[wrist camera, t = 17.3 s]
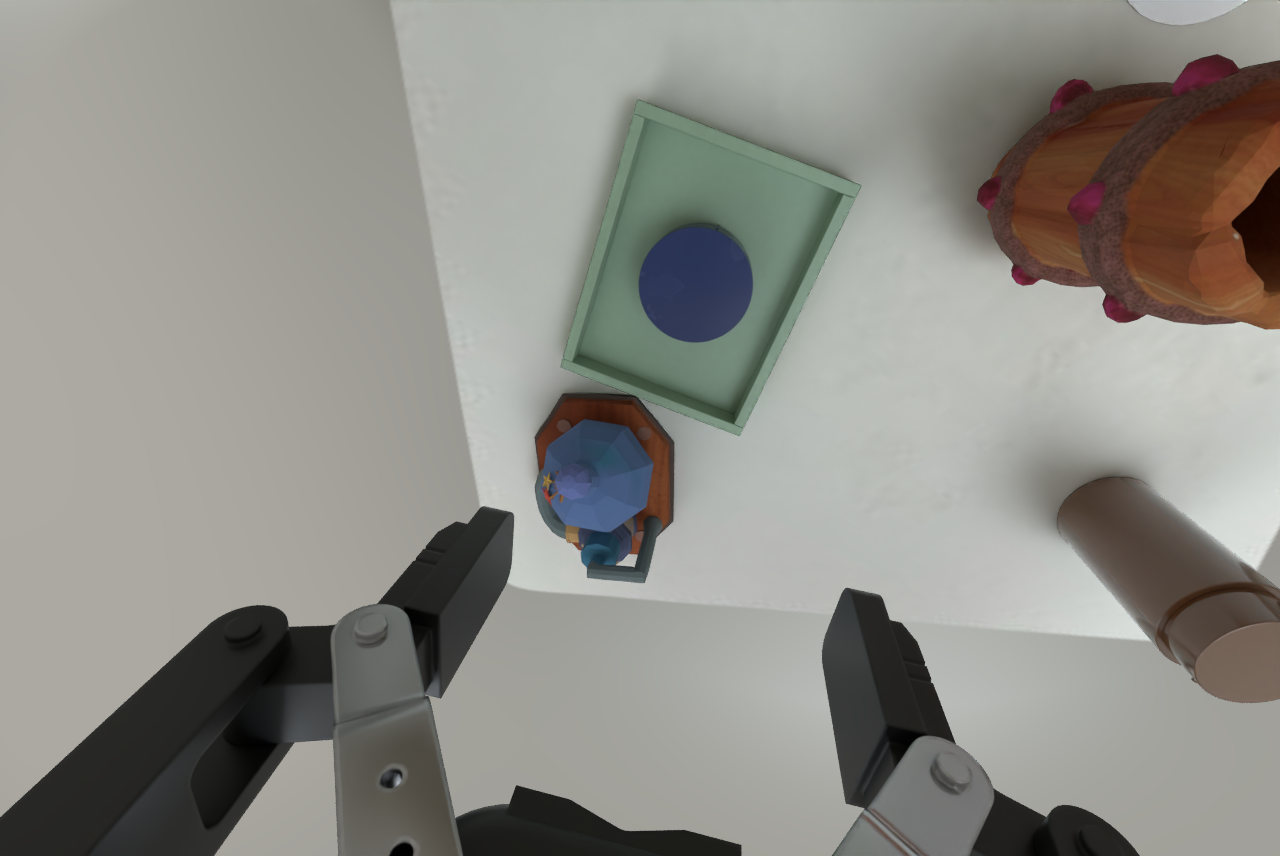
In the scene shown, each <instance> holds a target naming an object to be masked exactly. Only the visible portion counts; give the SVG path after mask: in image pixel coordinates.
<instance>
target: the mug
mask: <svg viewBox="0 0 1280 856" xmlns="http://www.w3.org/2000/svg"><path fill="white" fill-rule="evenodd" d="M977 201H978V202H979V203H980V204H981V205H982V206H983V207H984V208H986V209H988V219H989V221H990V224H991V226H992V230H993V234H994V238H995V240H996V241H997V243H998V245H999V247H1000V248H1001V250H1002V251H1003V252H1004V253H1005V254H1006V255H1007V257H1008V258H1009V259H1010V260H1011V261H1012V263H1013V267H1012V270H1011V271H1012V277H1013V279H1014V280H1015V281H1016V283H1018V284H1020V285H1023V286H1024V285H1033V284H1034V283H1035V282H1037V281H1038V280H1040V279H1044V280H1047V281H1050V282H1053V283H1057V284H1060V285H1067V286H1075V287H1092V286H1100V287H1101V288H1102V289H1103V291H1104V292H1105V293H1106V296H1105V299H1104V301H1103V304H1102V305H1103V308H1104V311H1105V314H1106V316H1107V317H1109V318H1110V319H1112V320H1114V321H1116V322H1118V323H1127V322H1131V321H1134V320H1138V319H1139V318H1141V317H1143V316H1145V315H1147V314H1148V315H1152V316H1155V317H1159V318H1162V319H1166V320H1169V321H1173V322H1178V323H1190V324H1201V325H1209V324H1228V323H1236V322H1245V323H1249V324H1252V325H1254V326H1257V327H1260V328H1263V329H1280V60H1279V61H1274V62H1268V63H1263V64H1258V65H1253V66H1248V67H1244V68H1240V69H1239V68H1238V67H1237V66H1236V64H1235V63H1234V62H1233V61H1232V60H1230V59H1227V58H1225V57H1223V56H1220V55H1218V54H1216V55H1212V56H1208V57H1203V58H1200V59H1198V60H1195V61H1193V62H1190V63H1188V64H1187V66H1186V67H1185V69H1184V70H1183V71H1182V73H1181V74H1180V76H1179V77H1178V79H1177V80H1176V82H1175V83H1174V84H1172V83H1166V82H1162V83H1140V84H1129V85H1120V86H1116V87H1112V88H1107V89H1103V90H1099V91H1093V89H1092V87H1091V86H1090V85H1089V84H1088V82H1086V81H1084V80H1077V79H1073V80H1070V81H1068V82H1066V83H1065V84H1064V85H1063V86H1062V87H1060V88H1059V89H1058V91H1057V93H1056V94H1055V96H1054V98H1053V99H1052V101H1051V106H1050V111H1049V114H1048V115H1046V116H1045V117H1044V118H1043V119H1042V120H1040V121H1039V122H1038V123H1037V124H1036V125H1035V126H1033V127H1032V128H1031V129H1030V130H1029V131H1028V132H1027V133H1026V134H1025V135H1024V136H1023V137H1022V138H1021V139H1020V141H1019V142H1018V143H1017V144H1016V145H1015V146H1014V147H1013V148H1012V149H1011V150H1010V151H1009V152H1007V153H1006V155H1005V156H1004V157H1003V158H1002V160H1001V161H1000V162H999V164H998V165H997V167H996V169H995V170H994V172H993V174H992V177H991V179H990V180H988V181H986V182H985V183H984V184H983V185H982V186H981V187H980V188H979V190H978V195H977Z"/></svg>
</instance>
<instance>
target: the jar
mask: <svg viewBox="0 0 1280 856" xmlns="http://www.w3.org/2000/svg"><path fill="white" fill-rule="evenodd" d="M1057 526H1058V530H1059V532H1060V534H1061V536H1062V537H1063V538H1064V539H1065V541H1066V542H1067V543H1068V544H1069V545H1070V546H1071V548H1072V549H1073V550H1074V551H1075V552H1076V553H1077V555H1078V556H1079V557H1080V558H1081V559H1082V560H1083V562H1084V563H1085V564H1086V565H1087V566H1088V567H1089V569H1090V570H1091V571H1092V572H1093V573H1094V574H1095V576H1096V577H1097V578H1098V579H1099V580H1100V581H1101V583H1102V584H1103V585H1104V586H1105V587H1106V588H1107V590H1108V591H1109V592H1110V593H1111V594H1112V595H1113V597H1114V598H1115V599H1116V600H1117V601H1118V602H1119V604H1120V605H1121V606H1122V607H1123V608H1124V610H1125V611H1126V612H1127V613H1128V614H1129V615H1130V617H1131V618H1132V619H1133V620H1134V621H1135V622H1136V624H1137V625H1138V626H1139V627H1140V628H1141V629H1142V631H1143V632H1144V633H1145V634H1146V635H1147V636H1148V638H1149V639H1150V640H1151V641H1152V642H1153V643H1154V645H1155V646H1156V647H1157V648H1158V649H1159V650H1160V651H1161V653H1162V654H1163V655H1164V656H1165V657H1167V658H1168V659H1170V660H1171V661H1173V662H1175V663H1177V664H1179V665H1182V666H1183V667H1184V668H1185V669H1186V671H1187V672H1188V673H1189V674H1190V675H1191V676H1192V677H1193V678H1192V680H1193V681H1194V682H1196V683H1198V684H1199V685H1200V686H1201V688H1202V689H1204V690H1205V691H1206V692H1208V693H1210V694H1211V695H1213V696H1215V697H1218V698H1220V699H1224V700H1227V701H1232V702H1240V703H1259V702H1267V701H1273V700H1277V699H1280V589H1279V588H1277V587H1276V586H1275V585H1274V584H1272V583H1271V582H1270V581H1269V580H1267V579H1266V578H1265V577H1264V576H1262V575H1261V574H1260V573H1259V572H1257V571H1256V570H1255V569H1253V568H1252V567H1251V566H1250V565H1248V564H1247V563H1246V562H1245V561H1243V560H1242V559H1241V558H1240V557H1238V556H1237V555H1236V554H1235V553H1233V552H1232V551H1231V550H1230V549H1228V548H1227V547H1226V546H1224V545H1223V544H1222V543H1221V542H1219V541H1218V540H1217V539H1216V538H1214V537H1213V536H1212V535H1211V534H1209V533H1208V532H1207V531H1206V530H1204V529H1203V528H1202V527H1200V526H1199V525H1198V524H1197V523H1195V522H1194V521H1193V520H1192V519H1190V518H1189V517H1188V516H1187V515H1185V514H1184V513H1183V512H1182V511H1180V510H1179V509H1178V508H1177V507H1175V506H1174V505H1173V504H1171V503H1170V502H1169V501H1168V500H1166V499H1165V498H1164V497H1163V496H1161V495H1160V494H1159V493H1158V492H1156V491H1155V490H1154V489H1153V488H1151V487H1150V486H1149V485H1147V484H1145V483H1144V482H1141V481H1139V480H1136V479H1132V478H1127V477H1110V478H1104V479H1100V480H1096V481H1093V482H1091V483H1088V484H1086V485H1084V486H1082V487H1081V488H1079V489H1077V490H1076V491H1075V492H1073V493H1072V494H1071V495H1070V496H1069V497H1068V498H1067V499H1066V500H1065V502H1064V503H1063V504H1062V506H1061V508H1060V510H1059V513H1058V517H1057Z"/></svg>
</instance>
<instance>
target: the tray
mask: <svg viewBox="0 0 1280 856" xmlns="http://www.w3.org/2000/svg"><path fill="white" fill-rule="evenodd" d="M634 113H635V114H633V117H632V121H631V124H630V128H629V131H628V135H627V138H626V142H625V145H624V148H623V152H622V155H621V159H620V162H619V166H618V169H617V173H616V176H615V180H614V183H613V186H612V190H611V193H610V197H609V200H608V204H607V207H606V211H605V214H604V218H603V221H602V224H601V228H600V231H599V235H598V238H597V242H596V245H595V249H594V252H593V256H592V259H591V262H590V266H589V269H588V273H587V276H586V280H585V283H584V287H583V290H582V294H581V297H580V300H579V304H578V307H577V311H576V314H575V318H574V321H573V325H572V328H571V332H570V335H569V338H568V342H567V345H566V349H565V352H564V356H563V359H562V363H561V368H564V369H566V370H569V371H571V372H574V373H577V374H579V375H582V376H584V377H587V378H590V379H592V380H595V381H597V382H600V383H603V384H605V385H608V386H610V387H613V388H616V389H618V390H621V391H623V392H626V393H629V394H631V395H634V396H636V397H639V398H642V399H644V400H647V401H649V402H652V403H655V404H657V405H660V406H662V407H665V408H668V409H670V410H673V411H675V412H678V413H681V414H683V415H686V416H688V417H691V418H694V419H696V420H699V421H701V422H704V423H706V424H709V425H712V426H714V427H717V428H719V429H722V430H725V431H727V432H730V433H732V434H735V435H738V436H740V434H741V432H742V430H743V428H744V426H745V424H746V422H747V420H748V418H749V416H750V414H751V412H752V410H753V408H754V406H755V404H756V402H757V400H758V398H759V395H760V393H761V391H762V389H763V387H764V385H765V383H766V381H767V379H768V377H769V375H770V373H771V371H772V369H773V367H774V365H775V363H776V360H777V358H778V356H779V354H780V352H781V350H782V348H783V346H784V344H785V342H786V340H787V338H788V336H789V334H790V332H791V330H792V328H793V326H794V323H795V321H796V319H797V317H798V315H799V313H800V311H801V309H802V307H803V305H804V303H805V301H806V299H807V297H808V295H809V293H810V291H811V288H812V286H813V284H814V282H815V280H816V278H817V276H818V274H819V272H820V270H821V268H822V266H823V264H824V262H825V260H826V258H827V256H828V253H829V251H830V249H831V247H832V245H833V243H834V241H835V239H836V237H837V235H838V233H839V231H840V229H841V227H842V225H843V223H844V221H845V219H846V216H847V214H848V212H849V210H850V208H851V206H852V204H853V202H854V200H855V198H856V196H857V194H858V192H859V190H860V188H861V185H859V184H857V183H854V182H851V181H849V180H846V179H844V178H841V177H838V176H836V175H833V174H831V173H828V172H825V171H823V170H820V169H818V168H815V167H813V166H810V165H807V164H805V163H802V162H800V161H797V160H794V159H792V158H789V157H787V156H784V155H781V154H779V153H776V152H774V151H771V150H768V149H766V148H763V147H761V146H758V145H755V144H753V143H750V142H748V141H745V140H742V139H740V138H737V137H735V136H732V135H729V134H727V133H724V132H722V131H719V130H716V129H714V128H711V127H709V126H706V125H703V124H701V123H698V122H696V121H693V120H690V119H688V118H685V117H683V116H680V115H677V114H675V113H672V112H670V111H667V110H664V109H662V108H659V107H657V106H654V105H651V104H649V103H646V102H644V101H641V100H637V103H636V107H635V110H634ZM690 223H708V224H713V225H716V226H717V225H720V226H719V227H721V228H723V229H725V230H727V231H729V232H730V233H731V234H733V235H734V236H735V237H736V238H737V239H738V240H739V241H740V242H741V244H742V245H743V247H744V248H745V250H746V252H747V254H748V256H749V259H750V262H751V267H752V275H753V293H752V297H751V301H750V304H749V307H748V309H747V311H746V313H745V315H744V316H743V318H742V319H741V321H740V322H739V323H738V324H737V325H736V326H735V327H734V328H733V329H732V330H730V331H729V332H728V333H726V334H725V335H723V336H721V337H719V338H717V339H714V340H711V341H706V342H699V343H692V342H684V341H680V340H677V339H674V338H672V337H670V336H668V335H666V334H665V333H663V332H662V331H660V330H659V329H658V328H657V327H656V326H655V325H654V324H653V323H652V322H651V321H650V319H649V318H648V316H647V315H646V313H645V311H644V309H643V306H642V304H641V300H640V296H639V275H640V271H641V267H642V265H643V262H644V260H645V258H646V256H647V254H648V253H649V251H650V250H651V249H652V247H653V246H654V245H655V244H656V243H657V242H658V241H659V240H660V239H661V238H663V237H664V236H665V235H666V234H667V233H669V232H670V231H672V230H674V229H675V228H678V227H680V226H682V225H686V224H690Z"/></svg>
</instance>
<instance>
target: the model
mask: <svg viewBox="0 0 1280 856" xmlns="http://www.w3.org/2000/svg"><path fill="white" fill-rule="evenodd" d="M535 445H536V452H537V459H538V466H539V475H538V478H537V481H536V485H535V493H536V499H537V504H538V508H539V511H540V513H541V515H542V518H543V520H544V522H545V523H546V524H547V526H548V527H549V528H550V529H551V530H552V532H553V533H555V534H556V535H558V536H560V537H562V538H564V539H566V541H567V542H568V543H571V542H572V543H573V544H574V545H575V546H576V548H577V549H578V550H582V551H581V559H582V563H583V564H584V565H585V566H586V567H587V577H588V578H593V579H603V580H614V581H626V582H635V583H645V581H646V577H647V574H648V571H649V568H650V563H651V559H652V555H653V551H654V546H655V542H656V538H657V536H658V535H659V534H660V533H661V532H663V531H664V530H665V529H666V528H667V527H668V526H669V525H670V524H671V523H672V522H673V503H674V442H673V440H672V439H671V438H670V437H669V435H668V434H667V433H666V432H665V430H664V429H663V428H662V427H661V425H660V424H659V423H658V421H657V420H656V419H655V418H654V417H653V416H652V414H651V413H650V412H649V411H648V410H647V409H646V408H645V406H644V405H643V404H642V403H641V402H640V401H639V399H638V398H637V397H636V396H624V395H609V394H563V395H562V396H561V398H560V399H559V401H558V402H557V404H556V406H555V407H554V409H553V410H552V412H551V414H550V415H549V417H548V418H547V420H546V421H545V423H544V424H543V426H542V427H541V429H540V430H539V432H538V433H537V435H536V436H535ZM628 554H638V557H637V561H636V564H635V568H634V567H629V566H616V564H617V563H619V562H620V561H622V560H623V559H624V558H625V557H626V556H627V555H628Z"/></svg>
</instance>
